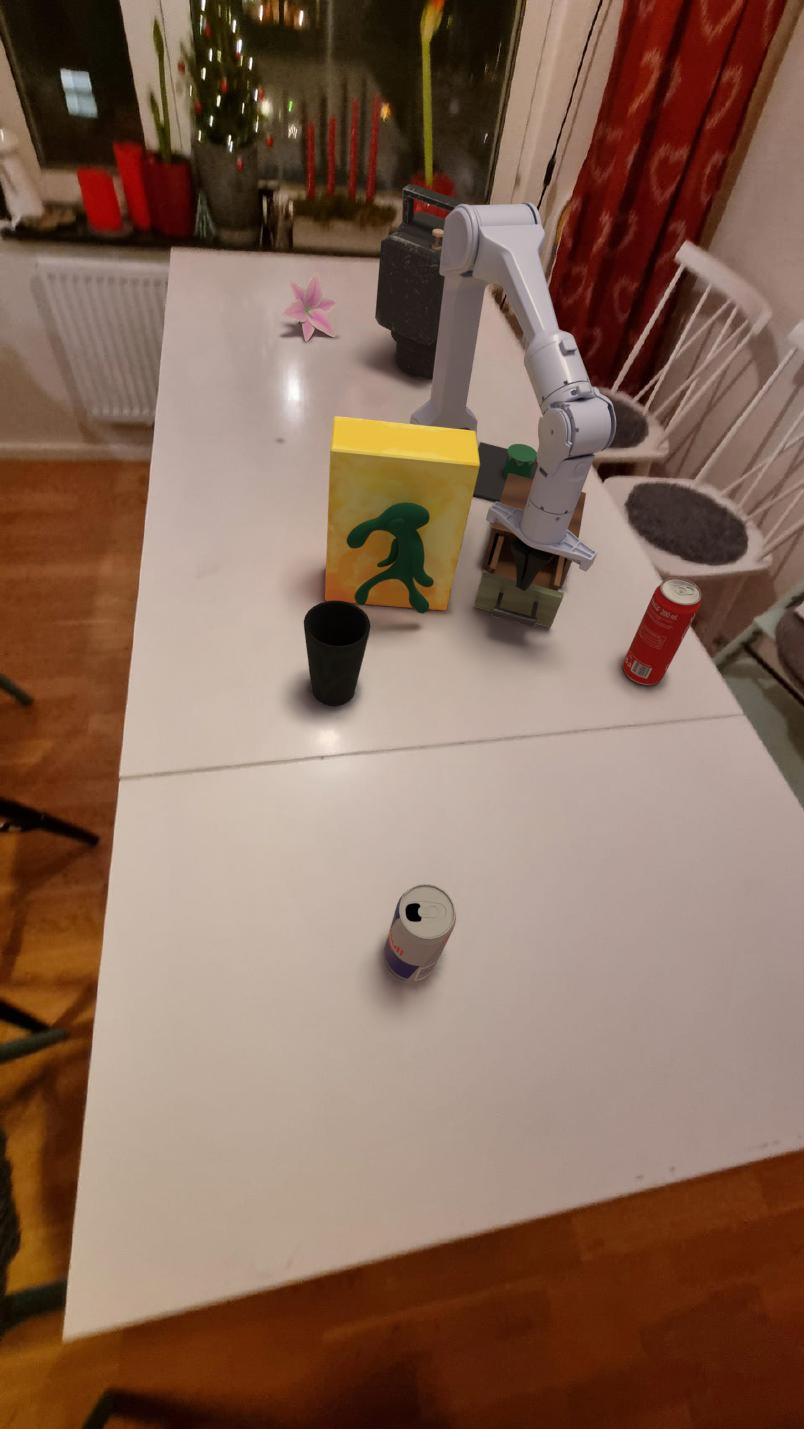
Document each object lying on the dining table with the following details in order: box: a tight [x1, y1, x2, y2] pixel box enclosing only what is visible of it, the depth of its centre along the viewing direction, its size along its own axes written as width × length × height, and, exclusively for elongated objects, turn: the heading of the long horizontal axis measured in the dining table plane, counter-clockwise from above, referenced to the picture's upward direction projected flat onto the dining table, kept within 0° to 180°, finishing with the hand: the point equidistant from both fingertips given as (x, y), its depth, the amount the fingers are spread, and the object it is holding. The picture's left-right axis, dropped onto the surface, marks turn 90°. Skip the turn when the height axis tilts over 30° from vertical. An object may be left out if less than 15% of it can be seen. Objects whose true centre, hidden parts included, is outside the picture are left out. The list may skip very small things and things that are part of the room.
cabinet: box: [481, 473, 587, 589], centre depth 108 cm, size 15×13×8 cm
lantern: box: [374, 183, 469, 380], centre depth 131 cm, size 15×18×30 cm
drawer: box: [473, 534, 565, 628], centre depth 100 cm, size 18×11×6 cm, turn 165°
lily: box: [282, 271, 337, 342], centre depth 144 cm, size 12×12×10 cm
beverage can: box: [622, 576, 702, 686], centre depth 91 cm, size 6×6×15 cm
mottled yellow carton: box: [324, 415, 480, 614], centre depth 90 cm, size 18×12×24 cm
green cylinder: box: [503, 443, 537, 479], centre depth 120 cm, size 5×5×5 cm
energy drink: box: [383, 883, 457, 983], centre depth 65 cm, size 5×5×12 cm
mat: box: [473, 441, 538, 503], centre depth 122 cm, size 16×16×1 cm
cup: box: [303, 600, 372, 707], centre depth 84 cm, size 8×8×12 cm
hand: (523, 585), depth 93 cm, fingers closed
